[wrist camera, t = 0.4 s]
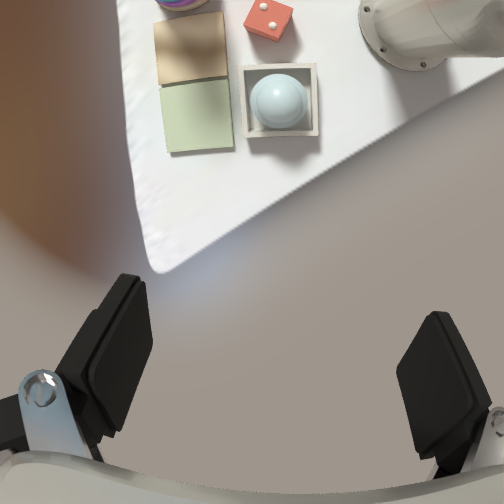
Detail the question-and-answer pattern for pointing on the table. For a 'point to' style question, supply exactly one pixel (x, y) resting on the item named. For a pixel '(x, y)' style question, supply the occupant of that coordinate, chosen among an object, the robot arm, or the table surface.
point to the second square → (197, 116)
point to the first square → (190, 48)
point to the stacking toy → (180, 4)
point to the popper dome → (279, 101)
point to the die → (268, 19)
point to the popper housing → (299, 71)
